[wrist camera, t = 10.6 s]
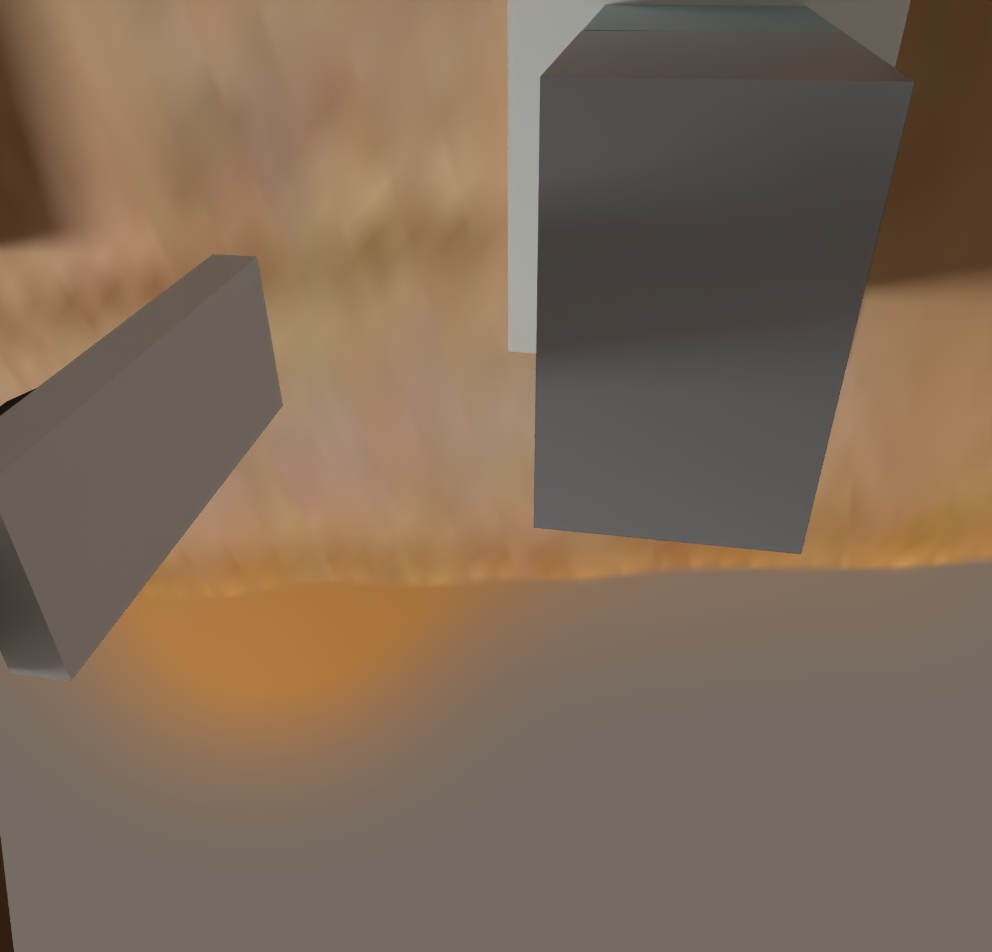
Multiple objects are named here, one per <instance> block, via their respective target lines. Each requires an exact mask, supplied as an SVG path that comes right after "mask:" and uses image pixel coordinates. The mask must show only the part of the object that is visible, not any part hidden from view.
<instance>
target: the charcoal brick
mask: <svg viewBox="0 0 992 952" xmlns="http://www.w3.org/2000/svg"><path fill="white" fill-rule="evenodd" d="M914 83H915V82H914V81H913V80H912V79H910V78H909V77H907V76H906V75H904V74H903V73H902V72H900V71H899V70H897V69H896V68H894V67H893V66H891V65H890V64H889V63H887V62H886V61H884V60H883V59H881V58H880V57H879V56H877V55H876V54H874V53H873V52H871V51H870V50H868V49H867V48H866V47H864V46H863V45H861V44H860V43H858V42H857V41H855V40H854V39H853V38H851V37H850V36H848V35H847V34H845V33H844V32H798V31H580V33H579V34H578V35H577V36H576V37H575V38H574V39H573V40H572V42H571V43H570V44H569V45H568V46H567V47H566V48H565V49H564V50H563V52H562V53H561V54H560V55H559V56H558V57H557V58H556V59H555V61H554V62H553V63H552V64H551V65H550V66H549V67H548V68H547V70H546V71H545V72H544V73H543V74H542V75H541V76H540V118H539V189H538V260H537V331H536V402H535V473H534V528H543V529H553V530H563V531H573V532H583V533H593V534H603V535H613V536H623V537H633V538H643V539H653V540H663V541H673V542H684V543H694V544H704V545H714V546H724V547H734V548H744V549H754V550H764V551H774V552H784V553H794V554H801V553H802V548H803V544H804V540H805V536H806V532H807V528H808V523H809V519H810V515H811V511H812V507H813V503H814V499H815V494H816V490H817V486H818V482H819V478H820V474H821V469H822V465H823V461H824V457H825V453H826V449H827V444H828V440H829V436H830V432H831V428H832V424H833V419H834V415H835V411H836V407H837V403H838V399H839V395H840V390H841V386H842V382H843V378H844V374H845V370H846V365H847V361H848V357H849V353H850V349H851V345H852V340H853V336H854V332H855V328H856V324H857V320H858V315H859V311H860V307H861V303H862V299H863V295H864V291H865V286H866V282H867V278H868V274H869V270H870V266H871V261H872V257H873V253H874V249H875V245H876V241H877V236H878V232H879V228H880V224H881V220H882V216H883V211H884V207H885V203H886V199H887V195H888V191H889V187H890V182H891V178H892V174H893V170H894V166H895V162H896V157H897V153H898V149H899V145H900V141H901V137H902V132H903V128H904V124H905V120H906V116H907V112H908V107H909V103H910V99H911V95H912V91H913V87H914Z"/></svg>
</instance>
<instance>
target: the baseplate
mask: <svg viewBox="0 0 992 952" xmlns="http://www.w3.org/2000/svg"><path fill="white" fill-rule="evenodd" d="M910 2H911V0H508V351H509V352H523V353H536V331H537V260H538V189H539V118H540V76H541V75H542V74H543V73H544V72H545V71H546V70H547V68H548V67H549V66H550V65H551V64H552V63H553V62H554V61H555V59H556V58H557V57H558V56H559V55H560V54H561V53H562V52H563V50H564V49H565V48H566V47H567V46H568V45H569V44H570V43H571V42H572V40H573V39H574V38H575V37H576V36H577V35H578V34H579V33H580V31H583V29H584V28H585V27H586V26H587V25H588V24H589V22H590V21H591V20H592V19H593V18H594V17H595V16H596V14H597V13H598V12H599V11H600V10H601V9H602V8H603V7H604V5H726V6H807V7H808V8H810V9H811V10H812V11H814V12H815V13H817V14H818V15H820V16H821V17H822V18H824V19H825V20H827V21H828V22H830V23H831V24H833V25H834V26H835V27H837V28H838V29H840V30H841V31H843V32H844V33H845V34H847V35H848V36H850V37H851V38H853V39H854V40H855V41H857V42H858V43H860V44H861V45H863V46H864V47H866V48H867V49H868V50H870V51H871V52H873V53H874V54H876V55H877V56H879V57H880V58H881V59H883V60H884V61H886V62H887V63H889V64H890V65H891V66H893V67H894V68H895V67H896V62H897V58H898V54H899V49H900V45H901V41H902V36H903V32H904V28H905V23H906V19H907V15H908V10H909V6H910Z"/></svg>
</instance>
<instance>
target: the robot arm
mask: <svg viewBox="0 0 992 952" xmlns="http://www.w3.org/2000/svg"><path fill="white" fill-rule="evenodd" d="M282 406H283V404H282V398H281V392H280V387H279V381H278V375H277V369H276V363H275V358H274V352H273V346H272V340H271V335H270V329H269V323H268V317H267V311H266V306H265V300H264V294H263V288H262V283H261V277H260V271H259V265H258V259H257V257H256V256H235V255H214V254H213V255H211V256H210V257H209V258H207V259H206V260H205V261H203V262H202V263H201V264H199V265H198V266H197V267H196V268H194V269H193V270H192V271H190V272H189V273H188V274H186V275H185V276H184V277H182V278H181V279H180V280H178V281H177V282H176V283H175V284H173V285H172V286H171V287H169V288H168V289H167V290H165V291H164V292H163V293H161V294H160V295H159V296H157V297H156V298H155V299H153V300H152V301H151V302H150V303H148V304H147V305H146V306H144V307H143V308H142V309H140V310H139V311H138V312H136V313H135V314H134V315H132V316H131V317H130V318H128V319H127V320H126V321H125V322H123V323H122V324H121V325H119V326H118V327H117V328H115V329H114V330H113V331H111V332H110V333H109V334H107V335H106V336H105V337H103V338H102V339H101V340H100V341H98V342H97V343H96V344H94V345H93V346H92V347H90V348H89V349H88V350H86V351H85V352H84V353H82V354H81V355H80V356H78V357H77V358H76V359H75V360H73V361H72V362H71V363H69V364H68V365H67V366H65V367H64V368H63V369H61V370H60V371H59V372H57V373H56V374H55V375H53V376H52V377H51V378H50V379H48V380H47V381H46V382H44V383H43V384H42V385H40V386H39V387H38V388H36V389H34V390H31V391H29V392H27V393H25V394H22V395H20V396H18V397H16V398H14V399H11V400H9V401H7V402H6V403H4V404H3V405H2V406H0V651H1V653H2V655H3V657H4V660H5V662H6V664H7V666H8V668H9V670H10V672H11V674H19V675H27V676H36V677H43V678H51V679H59V680H67V681H71V680H72V679H73V678H74V677H75V675H76V674H77V673H78V671H79V670H80V669H81V667H82V666H83V665H84V664H85V662H86V661H87V660H88V658H89V657H90V656H91V654H92V653H93V652H94V650H95V649H96V648H97V647H98V645H99V644H100V643H101V641H102V640H103V639H104V637H105V636H106V635H107V633H108V632H109V631H110V630H111V628H112V627H113V626H114V624H115V623H116V622H117V620H118V619H119V618H120V617H121V615H122V614H123V613H124V611H125V610H126V609H127V608H128V606H129V605H130V604H131V602H132V601H133V600H134V598H135V597H136V596H137V595H138V593H139V592H140V591H141V589H142V588H143V587H144V585H145V584H146V583H147V581H148V580H149V579H150V578H151V576H152V575H153V574H154V572H155V571H156V570H157V568H158V567H159V566H160V565H161V563H162V562H163V561H164V559H165V558H166V557H167V555H168V554H169V553H170V552H171V550H172V549H173V548H174V546H175V545H176V544H177V542H178V541H179V540H180V539H181V537H182V536H183V535H184V533H185V532H186V531H187V529H188V528H189V527H190V526H191V524H192V523H193V522H194V520H195V519H196V518H197V516H198V515H199V514H200V512H201V511H202V510H203V509H204V507H205V506H206V505H207V503H208V502H209V501H210V499H211V498H212V497H213V496H214V494H215V493H216V492H217V490H218V489H219V488H220V486H221V485H222V484H223V483H224V481H225V480H226V479H227V477H228V476H229V475H230V473H231V472H232V471H233V470H234V468H235V467H236V466H237V464H238V463H239V462H240V460H241V459H242V458H243V457H244V455H245V454H246V453H247V451H248V450H249V449H250V447H251V446H252V445H253V443H254V442H255V441H256V440H257V438H258V437H259V436H260V434H261V433H262V432H263V430H264V429H265V428H266V427H267V425H268V424H269V423H270V421H271V420H272V419H273V417H274V416H275V415H276V414H277V412H278V411H279V410H280V408H281V407H282ZM0 952H14V949H13V941H12V932H11V923H10V915H9V906H8V898H7V889H6V881H5V872H4V863H3V855H2V846H1V838H0Z"/></svg>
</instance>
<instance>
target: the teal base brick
mask: <svg viewBox="0 0 992 952" xmlns="http://www.w3.org/2000/svg"><path fill="white" fill-rule="evenodd" d="M583 31H798V32H843V31H841V30H840V29H838V28H837V27H835V26H834V25H833V24H831V23H830V22H828V21H827V20H825V19H824V18H822V17H821V16H820V15H818V14H817V13H815V12H814V11H812V10H811V9H810V8H808V7H807V6H726V5H604V7H603V8H602V9H601V10H600V11H599V12H598V13H597V14H596V16H595V17H594V18H593V19H592V20H591V21H590V22H589V24H588V25H587V26H586V27H585V28H584V29H583Z"/></svg>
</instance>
